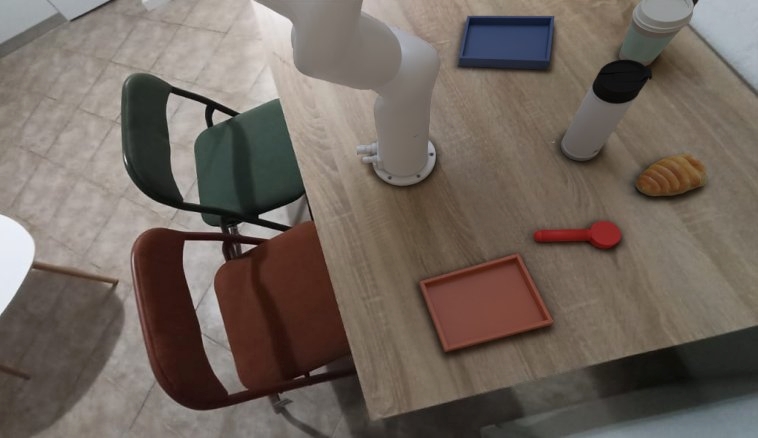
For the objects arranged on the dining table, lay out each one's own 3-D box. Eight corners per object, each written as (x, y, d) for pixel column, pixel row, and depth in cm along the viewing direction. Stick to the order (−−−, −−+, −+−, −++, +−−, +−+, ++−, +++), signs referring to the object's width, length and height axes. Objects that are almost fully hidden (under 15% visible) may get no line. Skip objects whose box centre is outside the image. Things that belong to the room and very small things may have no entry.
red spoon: (534, 249, 77) (536, 245, 75) (530, 226, 79) (533, 222, 77) (620, 248, 73) (625, 244, 72) (614, 224, 75) (618, 219, 73)
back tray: (457, 66, 96) (458, 57, 94) (466, 24, 100) (467, 15, 98) (546, 69, 90) (549, 60, 88) (551, 25, 94) (554, 15, 92)
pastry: (650, 207, 75) (661, 197, 71) (623, 177, 78) (633, 166, 74) (705, 186, 74) (719, 174, 70) (676, 155, 77) (688, 143, 74)
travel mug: (602, 162, 80) (655, 89, 62) (560, 161, 82) (601, 90, 64) (599, 133, 82) (650, 55, 65) (559, 132, 84) (598, 57, 67)
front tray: (444, 352, 74) (445, 350, 72) (419, 284, 79) (419, 281, 77) (549, 325, 71) (553, 322, 69) (515, 257, 77) (518, 252, 75)
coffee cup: (669, 68, 84) (706, 18, 73) (617, 76, 86) (646, 28, 75) (654, 35, 87) (687, -17, 77) (605, 44, 89) (630, -7, 79)
